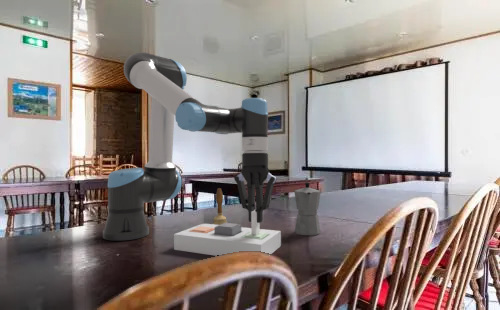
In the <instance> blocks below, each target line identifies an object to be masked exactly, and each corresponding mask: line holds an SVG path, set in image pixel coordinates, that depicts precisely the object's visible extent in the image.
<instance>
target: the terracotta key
mask: <svg viewBox="0 0 500 310" xmlns="http://www.w3.org/2000/svg"><path fill="white" fill-rule="evenodd" d="M213 230H215V228H212V227H202V226H200V227H198V228H195V229H192V230H190V232H199V233H208V232H211V231H213Z"/></svg>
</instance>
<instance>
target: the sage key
mask: <svg viewBox="0 0 500 310" xmlns="http://www.w3.org/2000/svg"><path fill="white" fill-rule="evenodd" d="M268 235H269V234H266V233H258V234H257V235H253V234H251V232H249V233H248V234H246V235H244V236H242V237H243V238H252V239H260V240H262V239H264V238H265V237H267V236H268Z"/></svg>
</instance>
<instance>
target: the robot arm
mask: <svg viewBox="0 0 500 310" xmlns="http://www.w3.org/2000/svg"><path fill="white" fill-rule="evenodd" d="M123 72H124V73H123V74H124V77H125V78H126V79H127V82H129V84H131V85H132V86H134V87H135V88H137V89H139V90H143V91H145V92H146V93H147V94H148V95H149V96H150V98H151V105H150V110H151V111H150V126H149V127H150V129H149V154H148V162H147V163H145V165H144V168H143V167H131V168H130V167H129V168H123V169H117V170H114V171H111V172H110V173H109V174H108V176H107V177H108V178H107V179H108V180H107V212H108V215H107V218H106V222H105V226H104V228H103V230H102V239H104V240H106V241H112V242H113V241H119V242H120V241H121V242H122V241H130V240H136V239H140V238H144V237H147V236H148V235H149V234H150V226H149V225H148V222H147V219H146V218H147V217H146V216H145V212H144V211H145V210H144V207H145V204H146V203H153V202H161V201H162V202H164V201H168V200H172V199H174V198H176V196H177V195H179V193H180V192H181V189H182V177H181V174H180V173H179V171H177V170H176V169H177V165H175V164H174V163H173V154H174V153H173V150H174V149H173V148H174V130H175V122H176V124H177V126H178V128H179V129H181V130H185V131H189V132H205V133H214V134H217V135H229V134H238V133H239V134H240V133H241V138H242V139H241V150H242V152H244V153H242V155H241V158H242V159H241V160H242V161H241V165H242V169H241V171H240V172H241V173H239V174H237V175H234V177H233V180H234V181H235V182H236V184H237V190H238V193H239V199H240V203H241V207H242V209H245V210H247V211H248V222H249V223H250V224H251V226H250V228H251V234H253V235H257V234H258V233H260V229H261V228H260V227H261V225H260V223H262V222H263V217H264V216H263V215H264V214H263V211H265V210H267V209H269V208H270V204H271V199H272V194H273V190H274V186H275V185H274V184H275V183H276V181H277V180H278V177H277V176H274V175H272V173H270V169H269V154H268V150H269V137H268V136H269V134H268V128H269V127H268V125H269V122H268V121H269V111H268V102H267V100H266V99H264V98H262V97H249V98H244V99H242V101H241V105H240V106H241V107H237V108H225V107H219V106H212V105H207V104H203V103H202V102H200V101H199V100H198V99H196V98H195V97H194V96H193V95H191V94H189V92H186V91H185V90H184V89H185V87H186V85H187V79H188V78H187V72H186V69H185V67H184V66H183V65H182V64H181V63H180V62H179V61H176V60H174V59H172V58H166V57H164V56H163V57H162V56H160V55H156V54H151V53H148V52H146V51H145V52H144V51H143V52H141V51H139V52H135V53H133V54H131V55H129V56H128V57H127V58H126V60H125V61H124V63H123ZM266 180H267V183H266V187H265V191H264V183H265V181H266ZM245 181H246V184H245ZM246 187H247V188H246Z"/></svg>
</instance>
